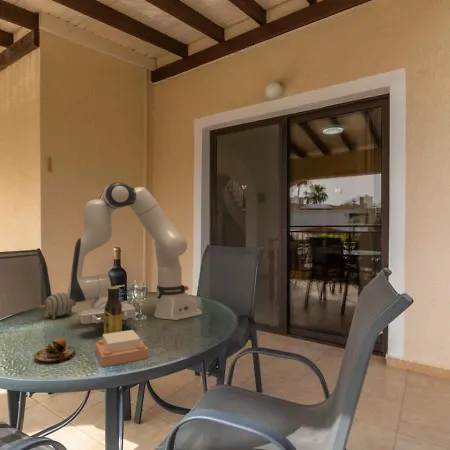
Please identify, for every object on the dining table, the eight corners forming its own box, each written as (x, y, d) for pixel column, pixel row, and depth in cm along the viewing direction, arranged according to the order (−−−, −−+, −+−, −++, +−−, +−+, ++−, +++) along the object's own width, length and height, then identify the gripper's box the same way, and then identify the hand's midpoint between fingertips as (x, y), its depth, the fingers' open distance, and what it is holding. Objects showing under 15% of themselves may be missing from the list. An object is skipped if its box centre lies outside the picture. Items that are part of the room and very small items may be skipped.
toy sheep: (82, 314, 155) (82, 291, 155) (47, 323, 140) (47, 297, 140) (68, 311, 160) (68, 288, 160) (33, 319, 146) (33, 294, 146)
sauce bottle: (103, 339, 122) (103, 286, 122) (120, 337, 124) (121, 284, 124) (104, 345, 116) (104, 289, 116) (122, 343, 118) (123, 288, 118)
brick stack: (136, 344, 117) (137, 327, 117) (148, 358, 105) (148, 339, 105) (95, 351, 111) (95, 333, 111) (102, 367, 98) (102, 347, 98)
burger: (32, 355, 107) (32, 333, 107) (71, 348, 114) (71, 326, 114) (36, 369, 97) (36, 344, 97) (78, 360, 104) (78, 336, 104)
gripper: (77, 305, 129) (81, 314, 117) (130, 300, 139) (139, 307, 127) (77, 321, 129) (81, 332, 117) (130, 315, 139) (138, 324, 127)
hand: (111, 319), depth 122 cm, fingers open, 8 cm apart
